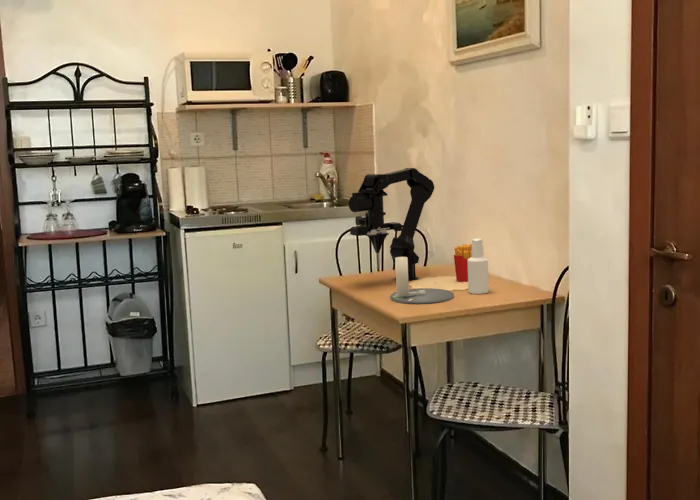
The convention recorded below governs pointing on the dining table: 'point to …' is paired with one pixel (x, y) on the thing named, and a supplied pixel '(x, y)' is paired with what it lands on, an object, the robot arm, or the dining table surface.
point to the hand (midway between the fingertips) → (377, 252)
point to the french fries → (462, 261)
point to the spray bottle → (478, 269)
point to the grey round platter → (424, 296)
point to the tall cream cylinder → (402, 277)
